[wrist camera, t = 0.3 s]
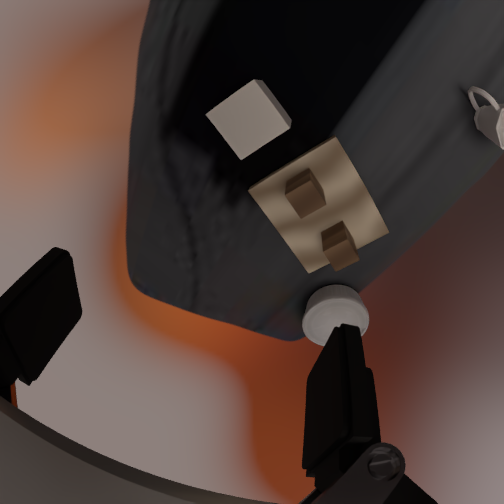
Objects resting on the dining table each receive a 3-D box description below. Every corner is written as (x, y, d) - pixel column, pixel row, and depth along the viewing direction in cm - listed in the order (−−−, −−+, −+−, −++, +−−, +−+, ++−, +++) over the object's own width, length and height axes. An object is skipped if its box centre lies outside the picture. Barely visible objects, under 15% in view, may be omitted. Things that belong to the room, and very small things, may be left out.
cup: (484, 151, 34) (513, 167, 27) (445, 101, 32) (474, 108, 25) (507, 122, 30) (538, 134, 24) (471, 71, 28) (502, 73, 22)
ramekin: (332, 335, 56) (334, 356, 52) (289, 306, 54) (287, 327, 49) (377, 301, 51) (382, 322, 46) (334, 266, 48) (337, 286, 44)
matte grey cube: (222, 108, 38) (205, 114, 31) (262, 80, 35) (253, 79, 29) (251, 146, 40) (240, 160, 34) (291, 120, 37) (289, 128, 31)
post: (320, 232, 44) (322, 251, 39) (342, 220, 42) (347, 239, 38) (332, 250, 45) (335, 271, 40) (353, 239, 43) (359, 259, 39)
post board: (249, 187, 43) (241, 206, 37) (334, 135, 38) (341, 145, 32) (308, 268, 49) (308, 295, 43) (386, 227, 43) (398, 251, 37)
